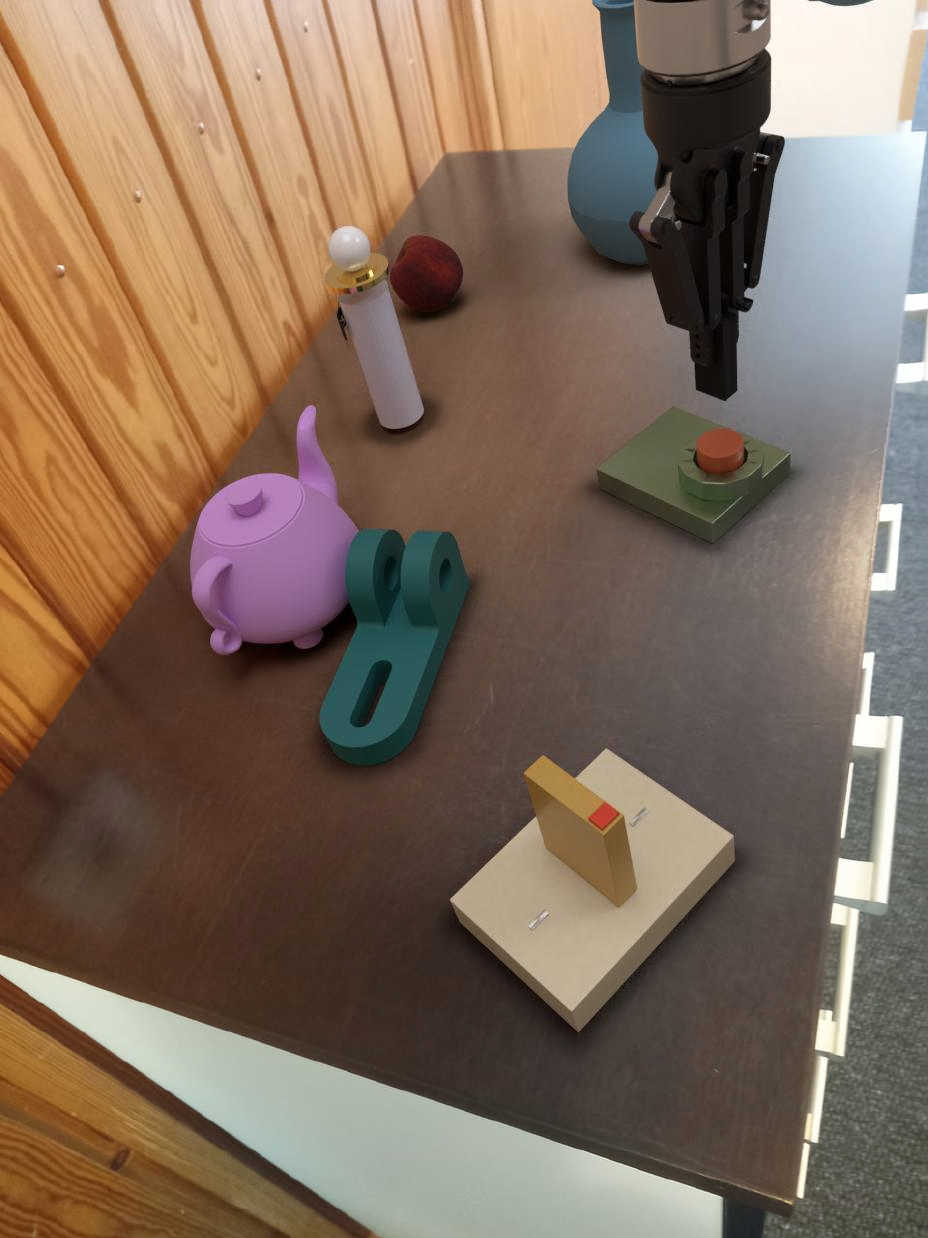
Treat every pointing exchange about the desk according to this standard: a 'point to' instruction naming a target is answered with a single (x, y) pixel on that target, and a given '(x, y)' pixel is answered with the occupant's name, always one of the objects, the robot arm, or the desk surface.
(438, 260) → the peach
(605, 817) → the tan box with red
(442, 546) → the bracket
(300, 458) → the teapot
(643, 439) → the box
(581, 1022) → the lock plate
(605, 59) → the vase
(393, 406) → the perfume bottle
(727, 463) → the bell button
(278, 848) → the desk surface
